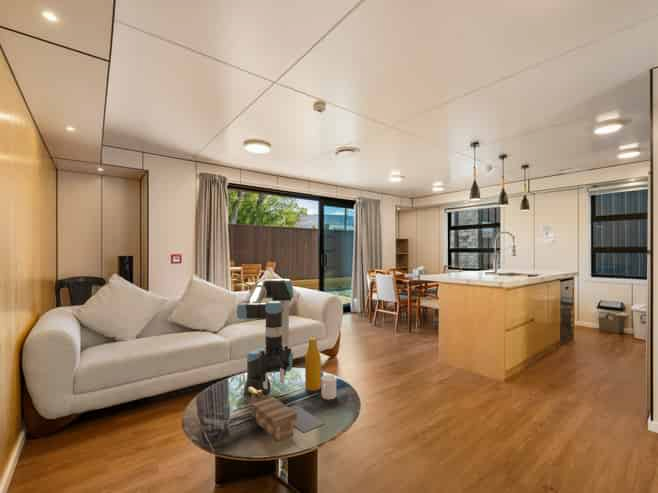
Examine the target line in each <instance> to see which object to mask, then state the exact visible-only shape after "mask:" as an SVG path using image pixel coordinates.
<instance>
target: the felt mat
mask: <svg viewBox="0 0 658 493" xmlns="http://www.w3.org/2000/svg"><path fill="white" fill-rule="evenodd" d="M288 407H289V408H290V409H292V410H293V411H295V412H296V413H297V420H295V421H293V427H295V428H296V429H297V430H298V431H300V432H302V433H303V434H305V433H308V432H309V431H312V430H314V429H317V428H318V427H321V426H323V425H325V422H323V421H322V420H321V419H319V418H317V417H315V415H313V414H311V413H310V412H308V411H306V410H305V409H303V408H302V407H300V406H299V405H297V404H294V405H292V406H288Z"/></svg>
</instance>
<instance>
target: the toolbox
mask: <svg viewBox="0 0 658 493" xmlns="http://www.w3.org/2000/svg"><path fill="white" fill-rule="evenodd" d="M261 393H262V397H259V398H258V397H256V396H255V393H254V392H252V396H251V416H252V417H253V418H254V419H255V423H256V424H257V425H258V426H259V427H261V428H262V429H263V430H264V431H265V432H266V433H267V434H268V435H269V436H271V437H272V438H274V440H275V441H276V442H280V441H281V440H284V439H287V438H288V437H291V436H294V426H293V421H292V422H290V423H287V424H285V425H282V426H280V427H277V428H274V427H272V426H271V425H270V424H269V423H268V422H266V421H265V420H264V419H263V418H261V417H260V416H259V415H258V414H257V413H255V412H254V411H253V404H254V403H257V402H260V401H263V400H266V396H265V394H263V391H262V390H261Z"/></svg>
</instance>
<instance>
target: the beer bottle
mask: <svg viewBox="0 0 658 493" xmlns="http://www.w3.org/2000/svg"><path fill="white" fill-rule="evenodd" d="M304 361H305V363H304V364H305V369H304V370H305V371H304V372H305V374H304V377H305V380H304V381H305V383H304V386H305V387H304V388H305V389H306V390H307V391H310V392H314V391H315V392H316V391H318V390H320V389H321V378H322V374H321V370H322V368H321V367H322V366H321V362H322V360H321V354H320V351H319V348H318V342H317V338H316V337H310V338H309V340H308V349H307V351H306V354H305V358H304Z"/></svg>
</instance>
